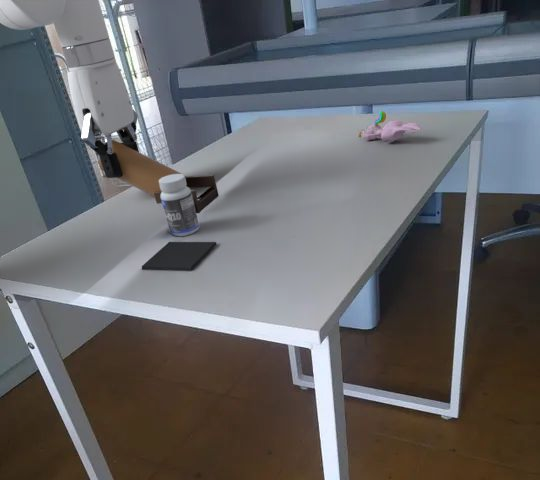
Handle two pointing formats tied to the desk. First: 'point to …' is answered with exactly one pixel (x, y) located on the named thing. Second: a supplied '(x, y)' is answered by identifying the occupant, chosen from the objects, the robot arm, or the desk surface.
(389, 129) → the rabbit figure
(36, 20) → the robot arm
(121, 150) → the paper roll
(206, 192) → the roll stand
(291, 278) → the desk surface
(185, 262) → the coaster
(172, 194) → the pill bottle
